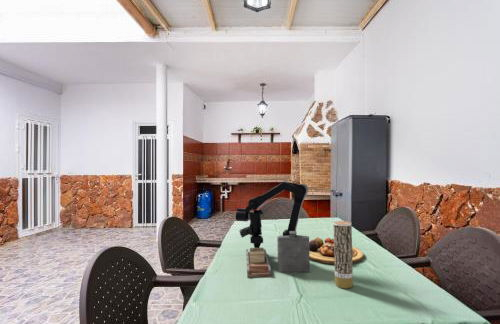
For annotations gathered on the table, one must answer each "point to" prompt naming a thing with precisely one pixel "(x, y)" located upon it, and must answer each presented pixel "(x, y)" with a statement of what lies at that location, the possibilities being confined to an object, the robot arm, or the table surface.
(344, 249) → the tree log
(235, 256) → the table surface
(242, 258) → the table surface
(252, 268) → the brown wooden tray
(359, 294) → the table surface
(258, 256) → the cream square block
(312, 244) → the wooden plate with food
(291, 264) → the flask
